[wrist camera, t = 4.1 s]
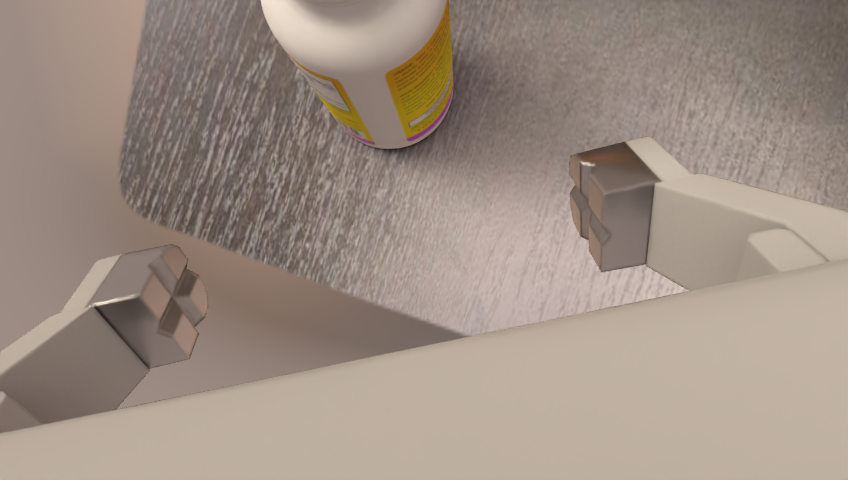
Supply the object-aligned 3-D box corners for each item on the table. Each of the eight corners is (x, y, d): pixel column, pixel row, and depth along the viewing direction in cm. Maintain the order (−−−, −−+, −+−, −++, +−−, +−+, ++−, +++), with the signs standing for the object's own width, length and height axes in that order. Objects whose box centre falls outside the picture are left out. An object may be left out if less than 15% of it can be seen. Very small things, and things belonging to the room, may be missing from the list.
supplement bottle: (454, 32, 26) (446, -215, 14) (453, 151, 26) (445, 7, 13) (332, 36, 27) (215, -198, 14) (328, 153, 26) (201, 17, 13)
